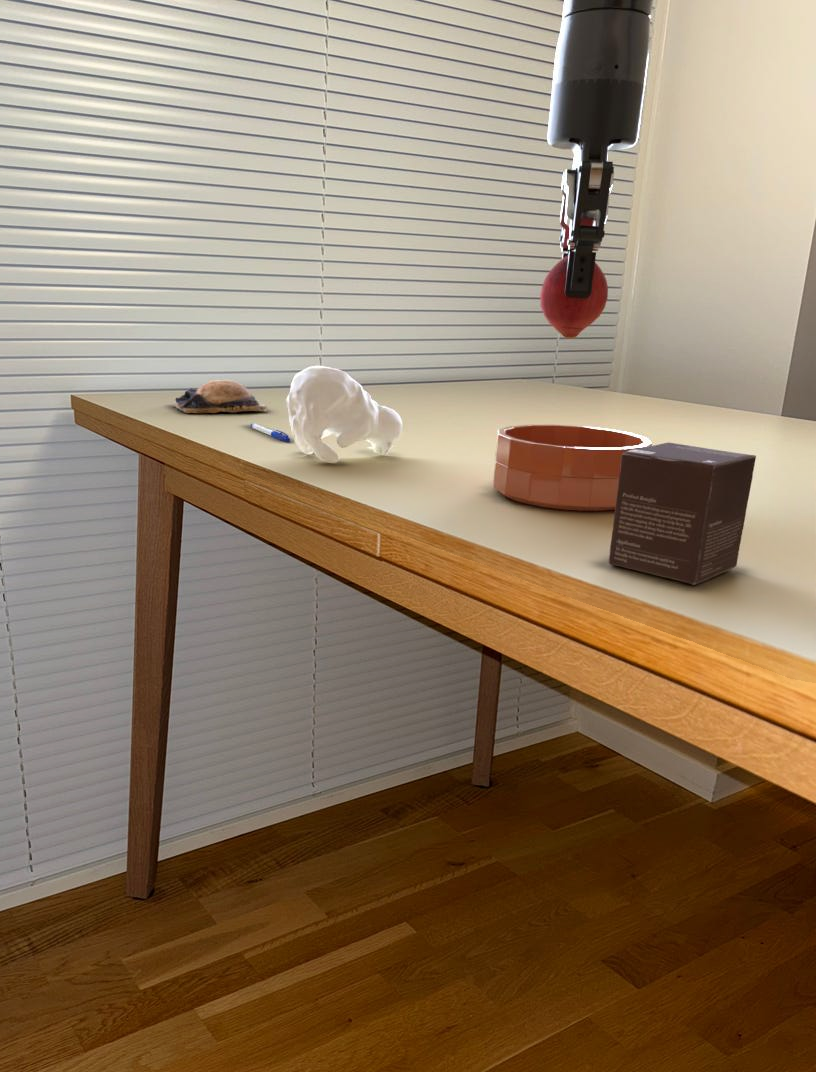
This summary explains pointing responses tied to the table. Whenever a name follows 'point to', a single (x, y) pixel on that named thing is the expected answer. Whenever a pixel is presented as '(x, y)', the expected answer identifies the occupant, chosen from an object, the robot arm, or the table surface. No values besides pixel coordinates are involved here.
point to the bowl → (562, 465)
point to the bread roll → (218, 398)
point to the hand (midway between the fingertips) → (573, 296)
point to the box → (680, 511)
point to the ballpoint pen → (272, 433)
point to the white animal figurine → (337, 414)
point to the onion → (571, 301)
